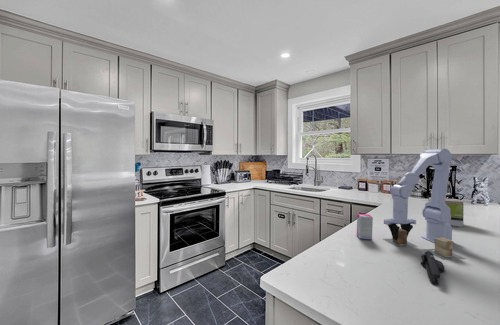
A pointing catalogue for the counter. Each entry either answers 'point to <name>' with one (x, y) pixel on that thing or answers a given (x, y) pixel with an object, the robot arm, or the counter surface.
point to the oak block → (443, 246)
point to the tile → (400, 244)
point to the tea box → (455, 211)
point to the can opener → (432, 267)
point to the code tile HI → (453, 257)
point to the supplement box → (364, 226)
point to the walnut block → (401, 237)
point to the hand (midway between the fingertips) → (399, 239)
